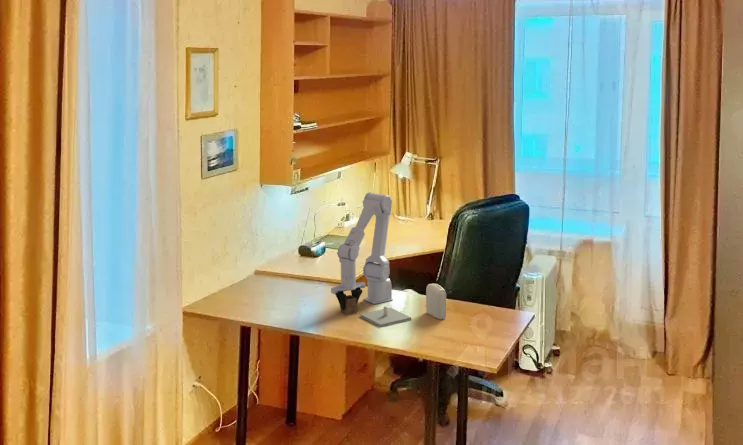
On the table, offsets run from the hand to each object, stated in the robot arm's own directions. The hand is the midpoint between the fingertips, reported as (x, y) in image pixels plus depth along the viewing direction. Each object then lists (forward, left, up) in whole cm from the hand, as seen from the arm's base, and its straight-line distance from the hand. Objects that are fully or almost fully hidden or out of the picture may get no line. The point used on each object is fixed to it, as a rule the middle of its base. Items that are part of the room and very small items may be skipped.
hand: (348, 308), depth 329 cm
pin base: (-8, +14, -2) cm, 16 cm away
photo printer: (-26, +22, -2) cm, 34 cm away
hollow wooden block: (0, 0, -2) cm, 2 cm away
